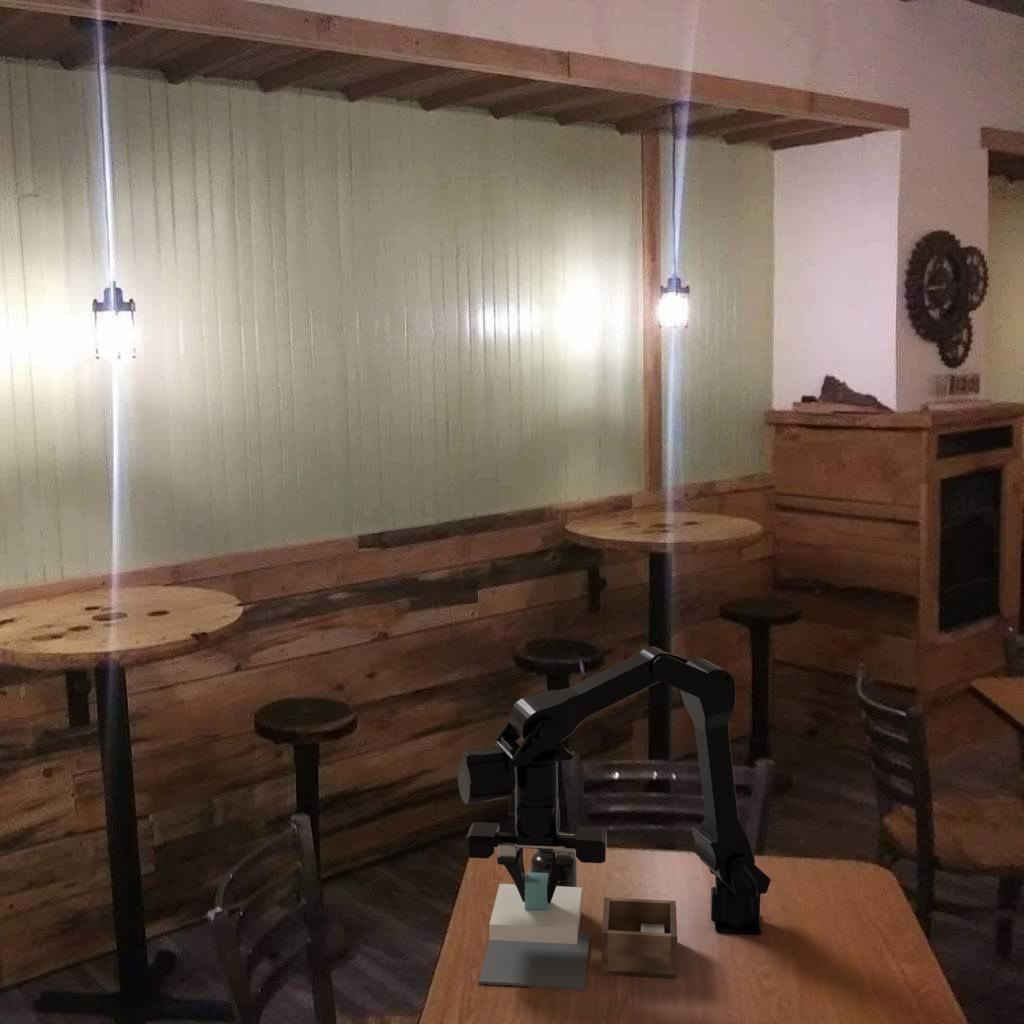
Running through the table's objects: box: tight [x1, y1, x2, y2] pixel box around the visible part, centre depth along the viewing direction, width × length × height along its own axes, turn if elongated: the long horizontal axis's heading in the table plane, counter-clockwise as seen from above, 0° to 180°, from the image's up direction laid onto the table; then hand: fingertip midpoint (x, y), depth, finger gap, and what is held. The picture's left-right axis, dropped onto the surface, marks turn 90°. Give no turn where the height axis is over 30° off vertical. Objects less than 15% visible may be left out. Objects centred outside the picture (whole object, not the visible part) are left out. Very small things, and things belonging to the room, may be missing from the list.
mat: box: [478, 932, 591, 991], centre depth 169 cm, size 14×14×1 cm
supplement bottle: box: [529, 830, 578, 887], centre depth 180 cm, size 7×7×12 cm
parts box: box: [600, 896, 678, 980], centre depth 169 cm, size 10×10×6 cm
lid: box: [488, 871, 583, 944], centre depth 167 cm, size 12×12×6 cm
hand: (537, 901), depth 167 cm, fingers closed on lid, 3 cm apart
